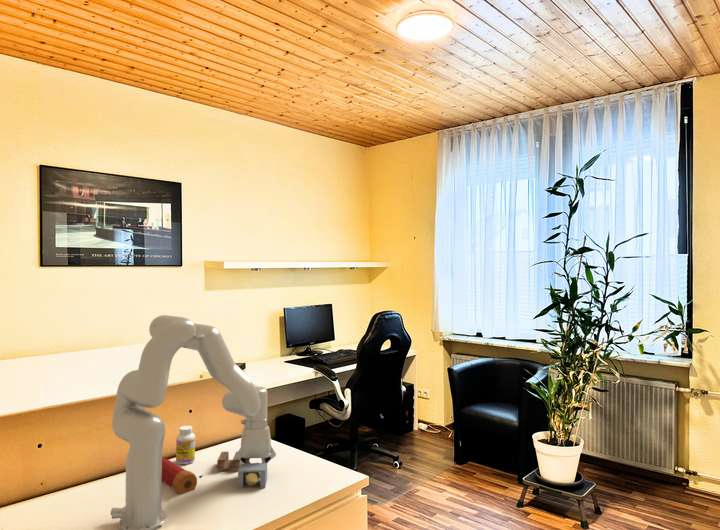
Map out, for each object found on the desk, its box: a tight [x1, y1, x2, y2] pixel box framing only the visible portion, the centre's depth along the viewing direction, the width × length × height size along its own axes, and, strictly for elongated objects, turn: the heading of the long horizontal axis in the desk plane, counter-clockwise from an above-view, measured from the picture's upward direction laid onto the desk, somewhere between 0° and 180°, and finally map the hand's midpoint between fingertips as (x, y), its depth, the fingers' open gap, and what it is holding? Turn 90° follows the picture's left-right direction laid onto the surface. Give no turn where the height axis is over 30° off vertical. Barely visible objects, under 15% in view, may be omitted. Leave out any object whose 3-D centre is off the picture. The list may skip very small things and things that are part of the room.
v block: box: [216, 451, 243, 473], centre depth 184 cm, size 8×8×5 cm
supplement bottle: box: [175, 425, 196, 465], centre depth 190 cm, size 7×7×13 cm
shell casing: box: [162, 457, 198, 495], centre depth 170 cm, size 7×20×7 cm, turn 45°
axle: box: [245, 472, 260, 486], centre depth 173 cm, size 14×4×4 cm, turn 4°
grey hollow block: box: [237, 462, 268, 489], centre depth 169 cm, size 6×9×7 cm
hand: (255, 475), depth 177 cm, fingers closed on axle, 4 cm apart
